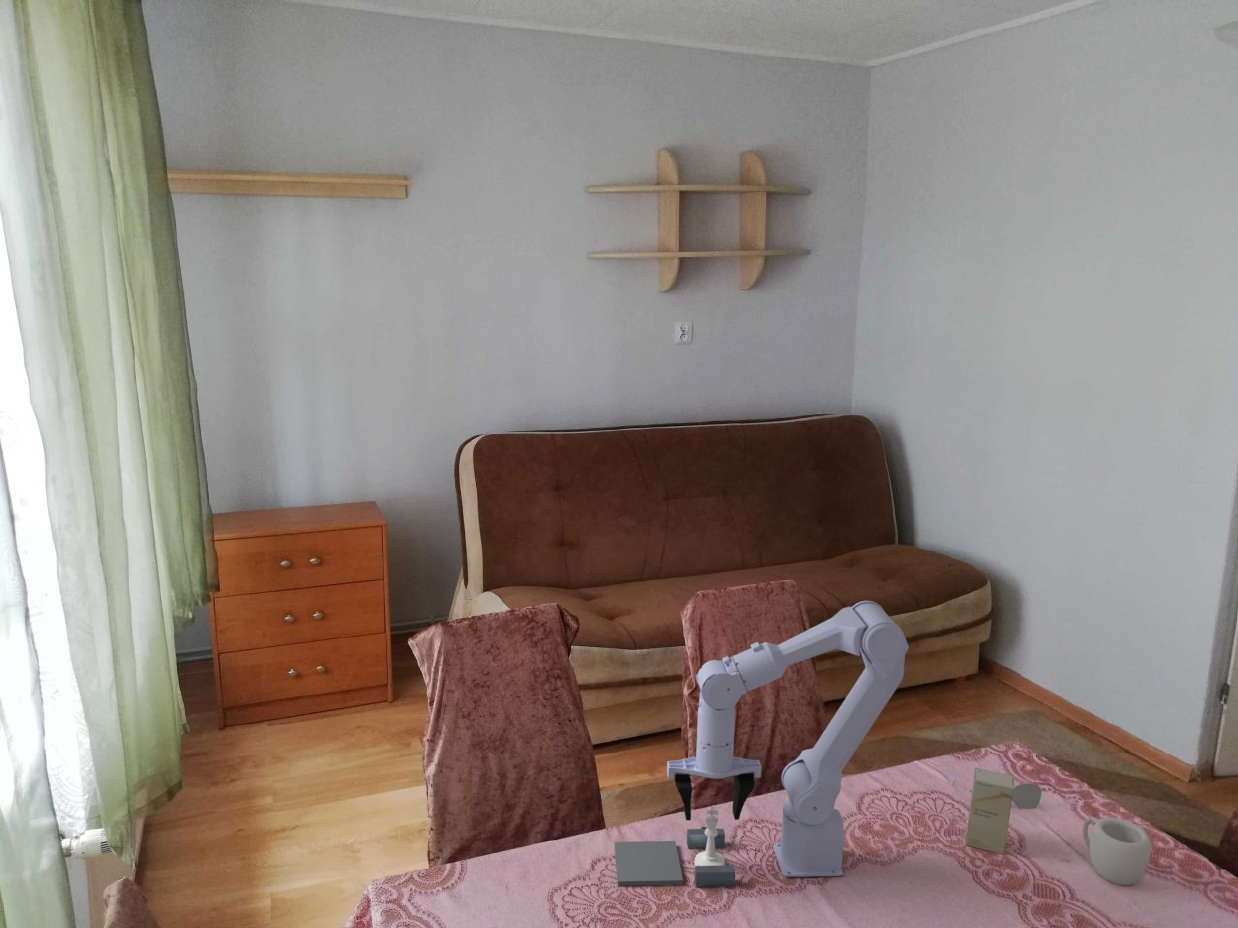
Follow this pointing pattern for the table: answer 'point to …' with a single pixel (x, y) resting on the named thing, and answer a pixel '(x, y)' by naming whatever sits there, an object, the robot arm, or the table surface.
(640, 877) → the mat
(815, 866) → the robot arm
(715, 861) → the chess piece
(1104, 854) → the mug
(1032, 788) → the sunglasses
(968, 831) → the skincare box
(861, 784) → the table surface
